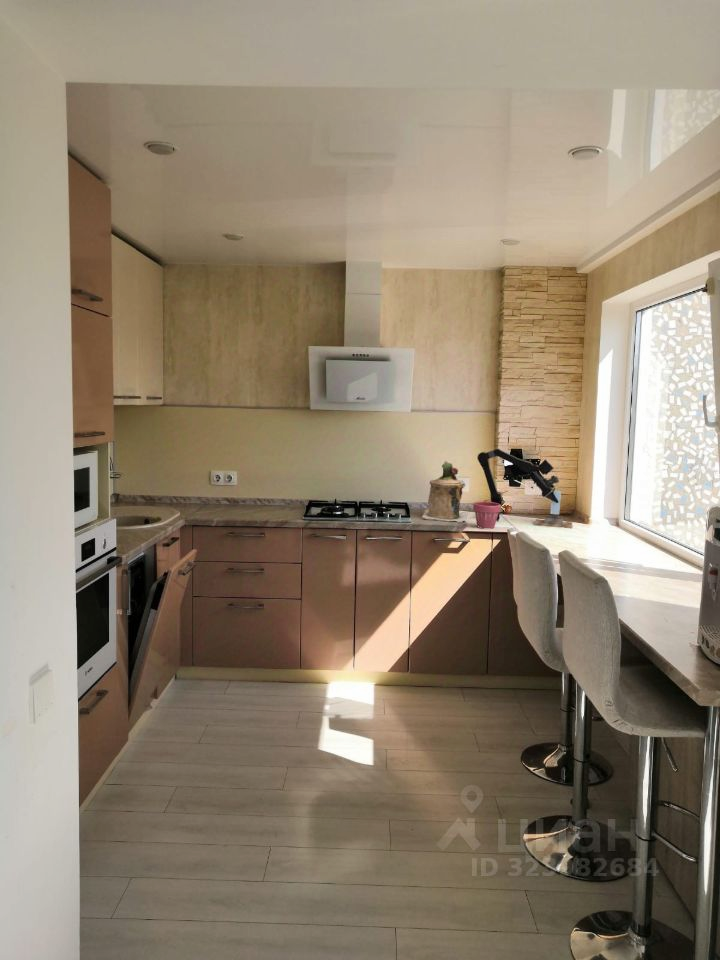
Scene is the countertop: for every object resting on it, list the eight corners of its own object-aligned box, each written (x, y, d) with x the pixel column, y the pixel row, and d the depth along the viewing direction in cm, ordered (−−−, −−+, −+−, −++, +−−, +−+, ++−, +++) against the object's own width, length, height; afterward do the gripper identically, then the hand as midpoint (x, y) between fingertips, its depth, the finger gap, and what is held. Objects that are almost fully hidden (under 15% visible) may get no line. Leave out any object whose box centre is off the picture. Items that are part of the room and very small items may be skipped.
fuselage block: (550, 513, 410) (552, 491, 409) (550, 512, 414) (552, 490, 413) (558, 514, 409) (560, 492, 407) (559, 513, 413) (561, 491, 412)
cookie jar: (420, 519, 412) (424, 462, 408) (425, 513, 436) (428, 458, 432) (465, 523, 408) (469, 465, 404) (467, 516, 432) (471, 461, 428)
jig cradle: (534, 525, 411) (535, 517, 411) (535, 521, 424) (535, 514, 423) (572, 528, 407) (573, 520, 406) (571, 524, 419) (572, 517, 419)
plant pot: (481, 530, 389) (482, 506, 387) (467, 525, 401) (468, 501, 400) (504, 529, 394) (506, 505, 393) (489, 524, 407) (491, 501, 406)
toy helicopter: (513, 513, 449) (515, 490, 448) (487, 515, 438) (489, 492, 437) (503, 511, 456) (505, 489, 455) (478, 512, 445) (479, 490, 443)
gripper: (549, 472, 401) (569, 494, 399) (552, 469, 419) (570, 490, 417) (533, 485, 404) (552, 507, 402) (536, 482, 422) (555, 503, 420)
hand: (558, 501), depth 410 cm, fingers closed on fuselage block, 5 cm apart
